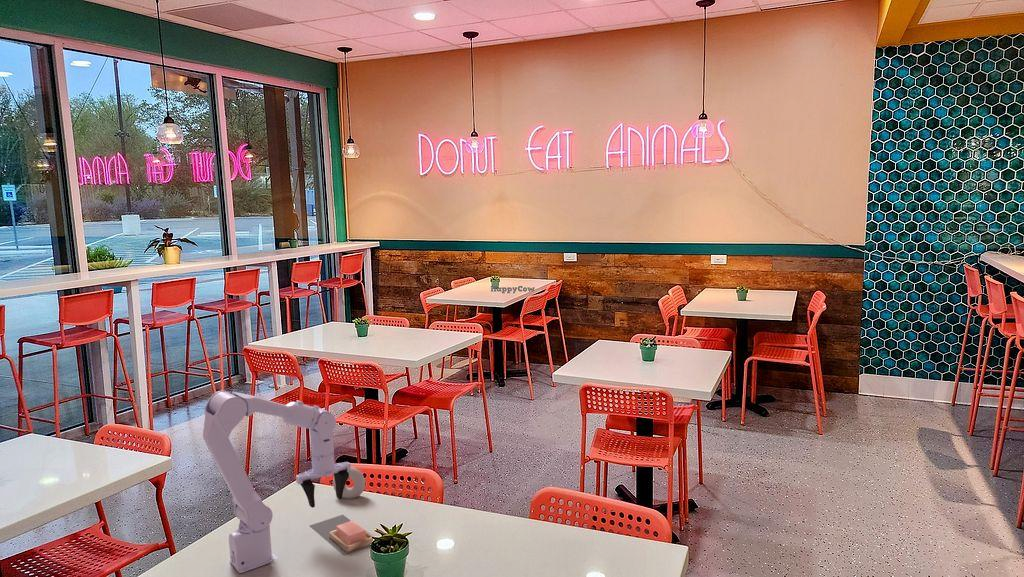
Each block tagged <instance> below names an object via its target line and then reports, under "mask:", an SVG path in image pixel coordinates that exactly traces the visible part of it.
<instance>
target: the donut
mask: <svg viewBox="0 0 1024 577" xmlns="http://www.w3.org/2000/svg"><path fill="white" fill-rule="evenodd" d="M347 472H348V473H349V477H348V479H351V480H352V482H353V486H352V487H348V486H347V485H345V486H344V490H343V495H342V499H348V500H349V499H350V500H351V499H356V498H358V497H360V496H361V494H362V493H363V492H364V490H365V487H366V480H365V477H364V475H363V473H362V471H361V470H360V469H358V468H356V467H354V466H351V470H350V471H347ZM332 485H333V486H332V487H333V490H334V491H335V492H336V484H335V478H334V477H333V479H332Z"/></svg>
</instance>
